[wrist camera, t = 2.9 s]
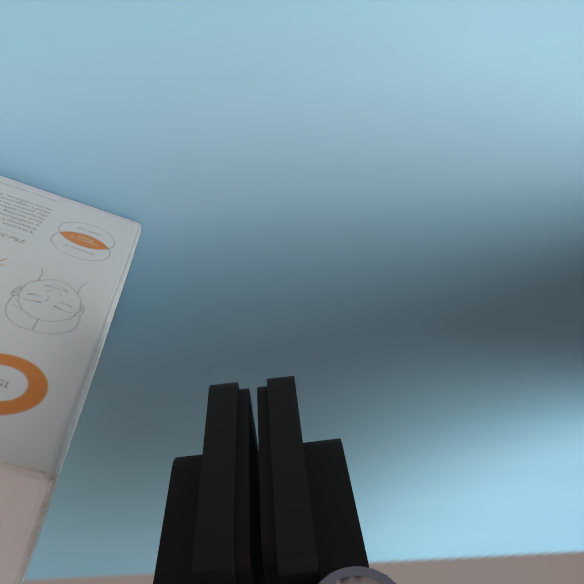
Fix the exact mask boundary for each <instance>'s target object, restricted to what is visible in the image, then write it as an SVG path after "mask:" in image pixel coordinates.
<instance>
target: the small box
mask: <svg viewBox="0 0 584 584" xmlns="http://www.w3.org/2000/svg"><path fill="white" fill-rule="evenodd" d="M140 233H141V224H139V223H137V222H135V221H132V220H129V219H126V218H123V217H120V216H117V215H114V214H111V213H108V212H106V211H103V210H100V209H97V208H94V207H91V206H88V205H85V204H82V203H79V202H76V201H73V200H70V199H67V198H65V197H62V196H59V195H56V194H53V193H50V192H47V191H44V190H41V189H38V188H35V187H33V186H30V185H27V184H24V183H21V182H18V181H15V180H12V179H9V178H6V177H3V176H0V584H23V582H24V579H25V576H26V573H27V570H28V567H29V564H30V561H31V558H32V556H33V553H34V550H35V547H36V544H37V541H38V538H39V535H40V532H41V529H42V526H43V523H44V520H45V517H46V514H47V511H48V508H49V505H50V502H51V499H52V496H53V493H54V490H55V487H56V484H57V481H58V478H59V475H60V472H61V469H62V466H63V464H64V461H65V458H66V455H67V452H68V449H69V446H70V443H71V440H72V437H73V434H74V432H75V429H76V426H77V423H78V420H79V417H80V414H81V411H82V408H83V405H84V402H85V399H86V396H87V394H88V391H89V388H90V385H91V382H92V379H93V376H94V373H95V370H96V367H97V364H98V361H99V358H100V355H101V352H102V349H103V346H104V343H105V340H106V337H107V334H108V331H109V328H110V325H111V322H112V319H113V316H114V313H115V310H116V307H117V304H118V301H119V298H120V295H121V292H122V289H123V286H124V283H125V280H126V277H127V274H128V271H129V268H130V265H131V262H132V259H133V256H134V253H135V249H136V246H137V243H138V240H139V237H140Z"/></svg>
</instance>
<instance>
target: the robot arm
mask: <svg viewBox="0 0 584 584" xmlns="http://www.w3.org/2000/svg"><path fill="white" fill-rule="evenodd" d="M257 402H258V439H259V450H258V443H257V437H256V430H255V423H254V417H253V410H252V404H251V397H250V391H249V388H248V389H239V385H238V383H237V382H236V383H227V384H218V385H210V387H209V396H208V406H207V416H206V426H205V436H204V446H203V455H195V456H186V457H177V458H175V460H174V462H173V466H172V471H171V477H170V483H169V490H168V496H167V502H166V508H165V514H164V520H163V526H162V532H161V538H160V545H159V551H158V557H157V563H156V569H155V575H154V581H153V584H396V583H395V582H394V581H393V580H392V579H391V578H389V577H388V576H387V575H385V574H383V573H381V572H379V571H377V570H375V569H373V568H369V564H368V559H367V555H366V550H365V546H364V541H363V537H362V532H361V528H360V523H359V518H358V514H357V509H356V505H355V500H354V496H353V491H352V487H351V482H350V477H349V473H348V468H347V464H346V459H345V455H344V450H343V446H342V442H341V439H332V440H323V441H315V442H306V443H303V442H302V434H301V426H300V418H299V411H298V403H297V395H296V387H295V380H294V376H289V377H280V378H271V379H267V386H266V387H257Z"/></svg>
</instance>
